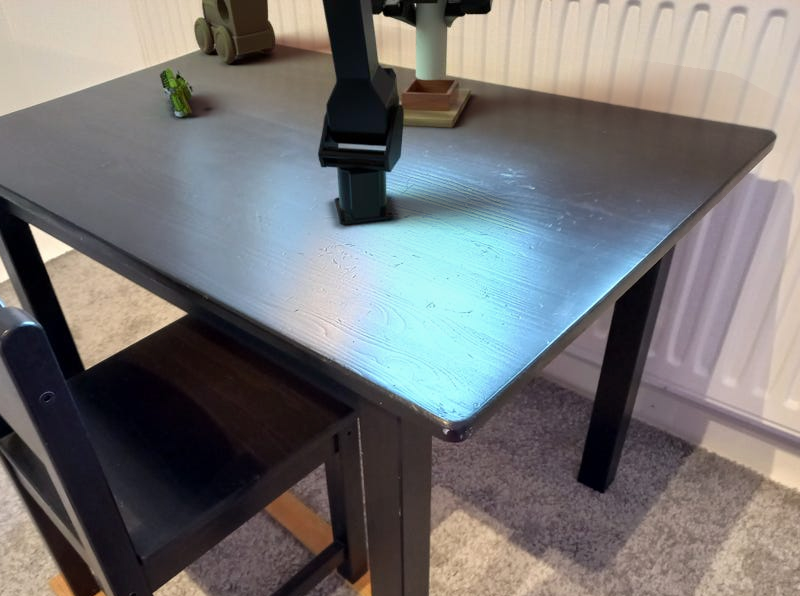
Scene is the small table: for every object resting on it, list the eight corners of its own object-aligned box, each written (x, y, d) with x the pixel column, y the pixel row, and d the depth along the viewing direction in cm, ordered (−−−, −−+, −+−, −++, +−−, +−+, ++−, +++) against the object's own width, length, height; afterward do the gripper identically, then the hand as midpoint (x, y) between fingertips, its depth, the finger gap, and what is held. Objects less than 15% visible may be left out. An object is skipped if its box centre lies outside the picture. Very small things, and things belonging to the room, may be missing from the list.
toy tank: (150, 90, 113) (208, 67, 114) (144, 61, 128) (195, 40, 128) (168, 131, 118) (224, 108, 118) (160, 98, 132) (210, 78, 133)
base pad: (452, 127, 105) (453, 102, 102) (387, 124, 108) (387, 100, 106) (470, 96, 115) (471, 72, 113) (410, 94, 118) (410, 71, 116)
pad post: (451, 72, 108) (454, -30, 100) (437, 81, 106) (439, -23, 97) (424, 69, 111) (425, -31, 102) (410, 78, 108) (410, -24, 99)
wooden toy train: (284, 58, 141) (274, -36, 131) (233, 70, 137) (218, -26, 127) (241, 39, 155) (229, -47, 145) (193, 51, 151) (177, -37, 141)
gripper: (500, -110, 88) (506, -28, 102) (357, -102, 94) (383, -26, 108) (485, -26, 87) (494, 44, 102) (342, -23, 93) (369, 43, 107)
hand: (433, 24), depth 105 cm, fingers closed on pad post, 4 cm apart
